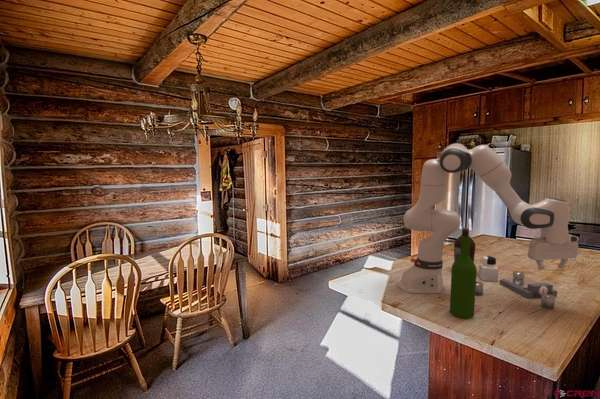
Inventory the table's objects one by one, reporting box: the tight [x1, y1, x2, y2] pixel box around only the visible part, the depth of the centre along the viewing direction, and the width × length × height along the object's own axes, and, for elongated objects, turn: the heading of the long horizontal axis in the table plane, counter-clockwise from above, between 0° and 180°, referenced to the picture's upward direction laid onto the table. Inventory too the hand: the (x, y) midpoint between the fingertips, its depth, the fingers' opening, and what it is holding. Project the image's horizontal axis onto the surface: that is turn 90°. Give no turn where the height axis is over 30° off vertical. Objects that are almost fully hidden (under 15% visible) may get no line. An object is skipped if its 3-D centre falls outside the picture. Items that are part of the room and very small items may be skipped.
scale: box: [499, 278, 558, 299], centre depth 153 cm, size 15×18×6 cm
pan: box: [502, 276, 540, 289], centre depth 155 cm, size 13×12×1 cm
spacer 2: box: [512, 270, 525, 284], centre depth 154 cm, size 4×4×5 cm
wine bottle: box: [449, 235, 478, 320], centre depth 129 cm, size 9×9×32 cm
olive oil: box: [453, 227, 476, 264], centre depth 178 cm, size 11×11×25 cm
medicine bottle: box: [478, 255, 499, 283], centre depth 168 cm, size 7×7×12 cm
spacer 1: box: [475, 280, 484, 296], centre depth 150 cm, size 4×4×5 cm
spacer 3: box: [540, 294, 556, 310], centre depth 136 cm, size 4×4×5 cm
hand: (551, 268), depth 134 cm, fingers open, 8 cm apart
